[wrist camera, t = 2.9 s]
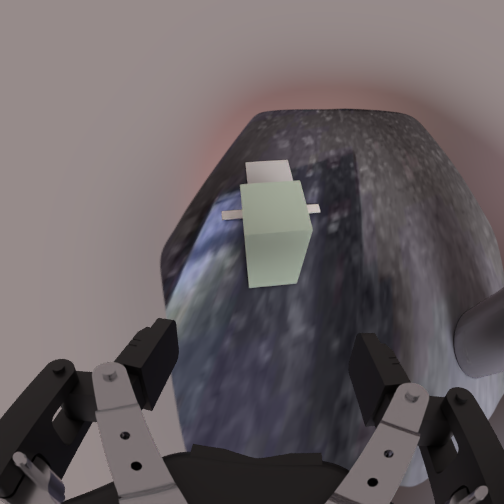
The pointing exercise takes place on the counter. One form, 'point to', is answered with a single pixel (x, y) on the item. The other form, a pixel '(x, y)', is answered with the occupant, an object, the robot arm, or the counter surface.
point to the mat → (268, 171)
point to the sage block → (275, 232)
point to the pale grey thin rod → (238, 214)
